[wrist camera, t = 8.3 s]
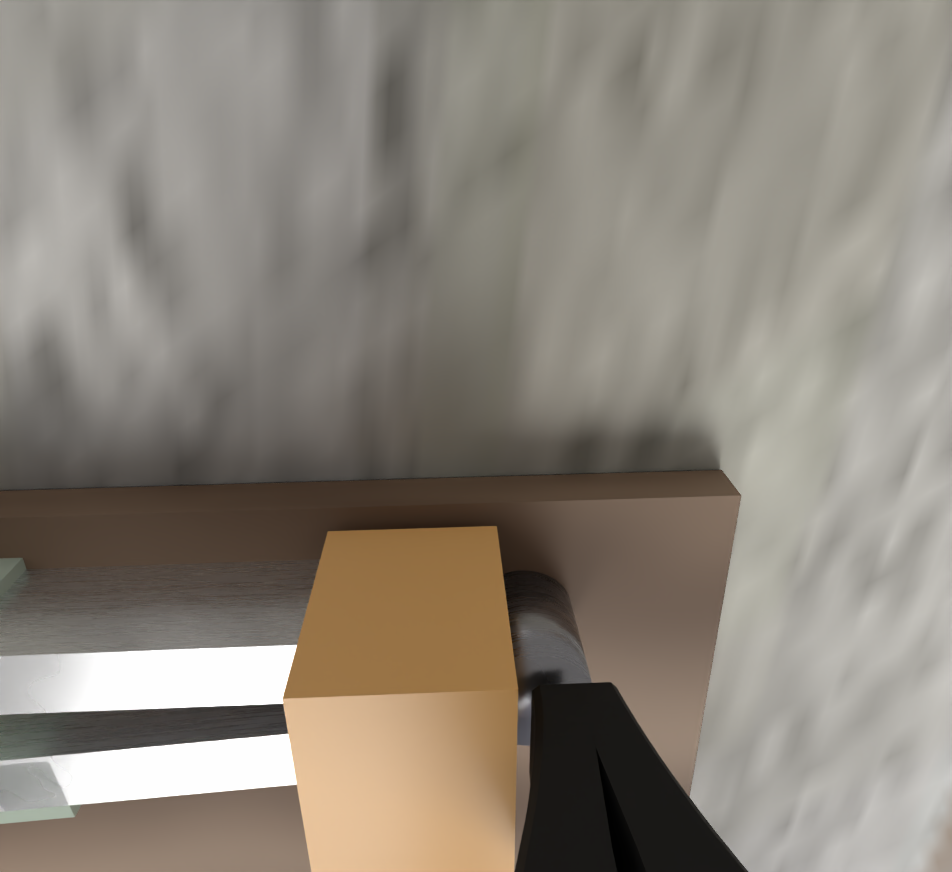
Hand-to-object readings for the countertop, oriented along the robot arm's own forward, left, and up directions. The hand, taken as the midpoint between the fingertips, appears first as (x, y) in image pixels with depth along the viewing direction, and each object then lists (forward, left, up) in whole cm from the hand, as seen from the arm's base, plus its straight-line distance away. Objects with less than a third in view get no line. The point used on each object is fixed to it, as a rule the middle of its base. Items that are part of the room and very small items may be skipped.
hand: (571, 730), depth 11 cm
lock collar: (0, +2, -3) cm, 4 cm away
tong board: (-5, +5, -4) cm, 8 cm away
